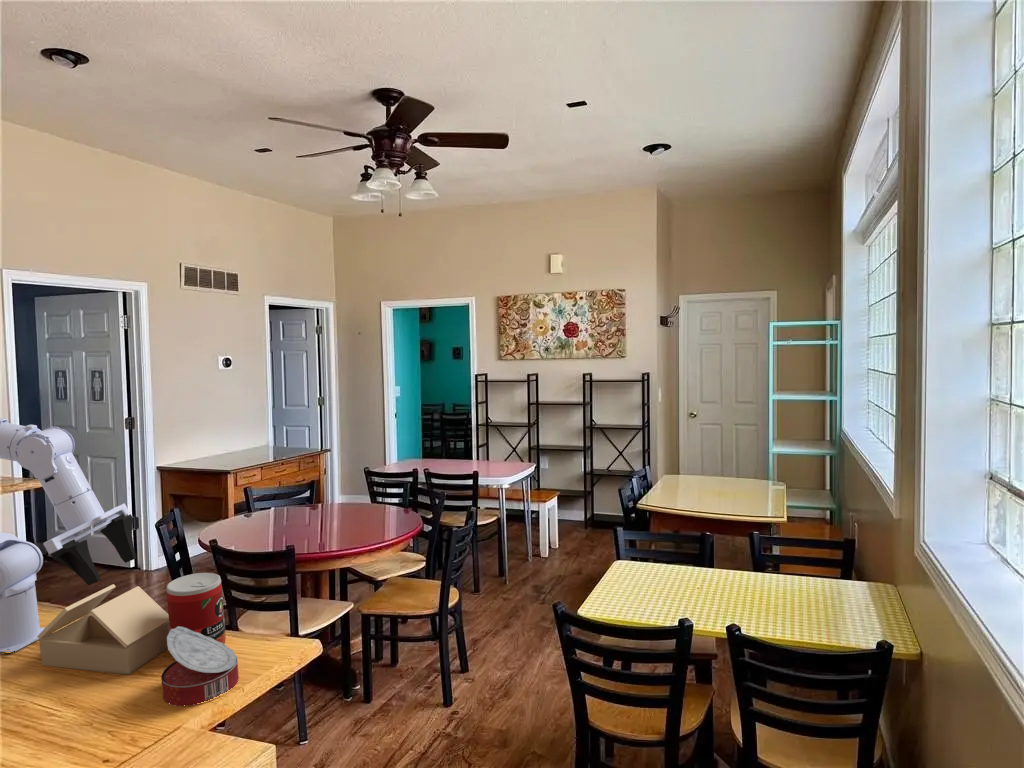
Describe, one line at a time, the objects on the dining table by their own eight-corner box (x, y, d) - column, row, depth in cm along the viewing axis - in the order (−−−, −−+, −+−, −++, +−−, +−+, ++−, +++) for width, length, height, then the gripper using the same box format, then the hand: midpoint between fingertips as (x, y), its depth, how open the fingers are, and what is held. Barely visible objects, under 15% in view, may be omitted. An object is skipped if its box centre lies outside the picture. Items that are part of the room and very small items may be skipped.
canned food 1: (213, 660, 102) (207, 591, 101) (161, 661, 102) (155, 592, 101) (235, 635, 110) (229, 571, 108) (187, 637, 110) (181, 572, 109)
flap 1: (39, 639, 102) (37, 636, 102) (89, 613, 110) (87, 610, 110) (67, 611, 100) (64, 608, 100) (115, 586, 108) (113, 583, 108)
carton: (41, 665, 102) (39, 640, 102) (91, 637, 111) (89, 614, 110) (128, 675, 98) (126, 649, 98) (173, 645, 107) (170, 621, 107)
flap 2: (170, 620, 107) (172, 617, 106) (125, 648, 98) (127, 645, 98) (136, 588, 108) (138, 585, 107) (89, 613, 99) (91, 610, 99)
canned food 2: (201, 699, 100) (218, 629, 103) (246, 709, 95) (263, 635, 98) (130, 700, 91) (152, 623, 94) (176, 712, 86) (197, 630, 89)
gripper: (50, 507, 100) (94, 586, 101) (125, 474, 114) (162, 544, 115) (19, 522, 102) (62, 599, 103) (96, 488, 116) (133, 556, 117)
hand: (113, 571), depth 109 cm, fingers open, 7 cm apart
